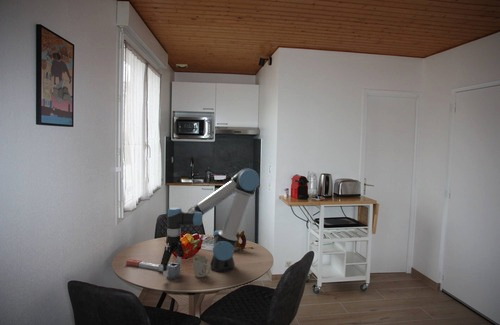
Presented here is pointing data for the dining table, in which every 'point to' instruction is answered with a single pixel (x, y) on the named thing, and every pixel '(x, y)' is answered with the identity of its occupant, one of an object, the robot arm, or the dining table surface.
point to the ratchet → (144, 265)
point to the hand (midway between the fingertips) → (172, 271)
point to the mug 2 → (240, 245)
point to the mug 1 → (200, 266)
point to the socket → (173, 270)
